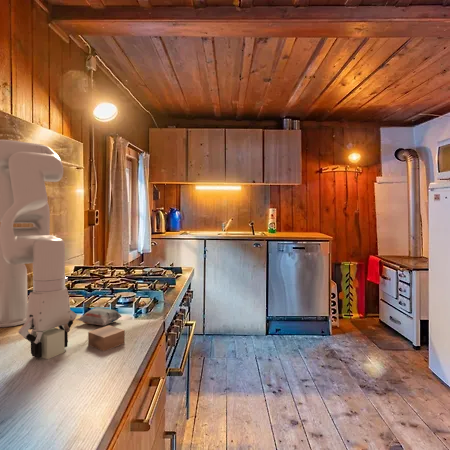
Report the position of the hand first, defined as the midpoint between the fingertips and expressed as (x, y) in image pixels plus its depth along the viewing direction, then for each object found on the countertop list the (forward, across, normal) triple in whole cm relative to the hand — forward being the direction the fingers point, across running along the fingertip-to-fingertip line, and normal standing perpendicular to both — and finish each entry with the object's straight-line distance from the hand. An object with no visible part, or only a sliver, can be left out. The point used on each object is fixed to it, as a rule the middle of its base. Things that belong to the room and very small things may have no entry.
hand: (50, 350), depth 91 cm
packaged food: (+1, -23, -7) cm, 24 cm away
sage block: (+1, 0, 0) cm, 1 cm away
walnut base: (+1, -12, +8) cm, 14 cm away
